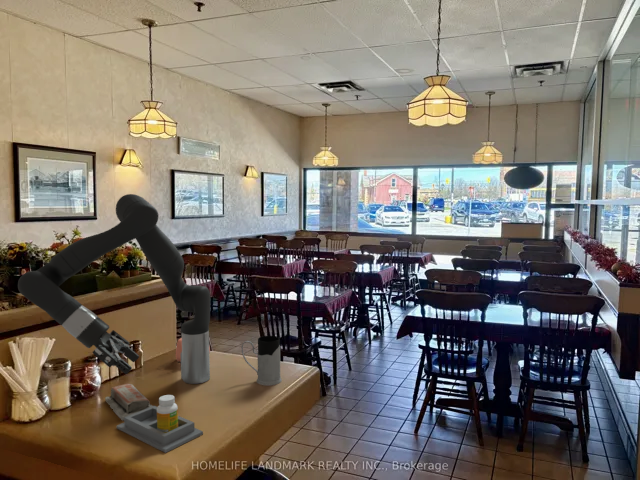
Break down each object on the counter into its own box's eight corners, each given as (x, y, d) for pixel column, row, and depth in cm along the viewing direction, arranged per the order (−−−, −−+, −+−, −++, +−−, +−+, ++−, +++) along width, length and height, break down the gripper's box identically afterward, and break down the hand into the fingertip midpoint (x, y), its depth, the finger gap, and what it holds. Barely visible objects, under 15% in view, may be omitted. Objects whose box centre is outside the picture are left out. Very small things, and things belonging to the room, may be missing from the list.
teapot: (215, 354, 201) (214, 329, 200) (196, 369, 183) (195, 342, 182) (188, 352, 203) (187, 327, 202) (167, 367, 185) (166, 340, 184)
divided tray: (116, 428, 137) (116, 417, 137) (153, 412, 146) (153, 402, 146) (165, 452, 124) (165, 440, 124) (202, 434, 133) (202, 422, 133)
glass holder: (278, 386, 167) (277, 343, 165) (238, 383, 169) (237, 340, 168) (284, 376, 175) (284, 335, 174) (246, 374, 178) (245, 333, 176)
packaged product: (103, 387, 155) (135, 379, 161) (104, 402, 155) (136, 394, 162) (121, 406, 141) (155, 397, 147) (122, 422, 141) (156, 413, 147)
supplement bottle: (172, 438, 129) (171, 402, 129) (153, 436, 130) (152, 400, 130) (181, 428, 135) (180, 394, 134) (163, 426, 136) (162, 392, 135)
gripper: (87, 324, 124) (137, 365, 127) (103, 309, 138) (148, 346, 141) (66, 345, 124) (116, 386, 127) (84, 328, 138) (129, 365, 141)
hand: (133, 365), depth 134 cm, fingers open, 8 cm apart
